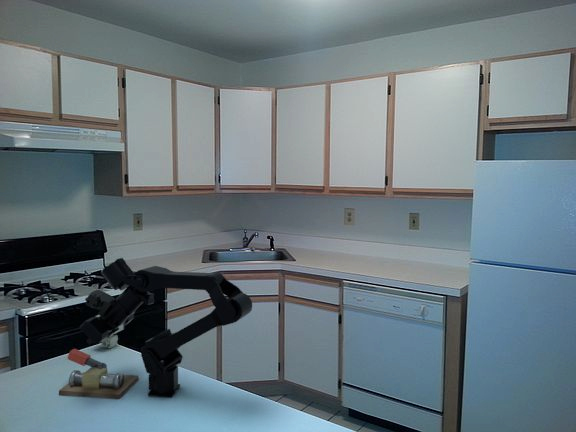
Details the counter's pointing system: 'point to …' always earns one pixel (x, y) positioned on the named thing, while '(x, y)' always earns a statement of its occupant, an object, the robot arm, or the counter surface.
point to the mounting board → (103, 391)
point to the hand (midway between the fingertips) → (88, 342)
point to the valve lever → (84, 359)
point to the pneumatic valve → (111, 337)
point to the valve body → (96, 379)
